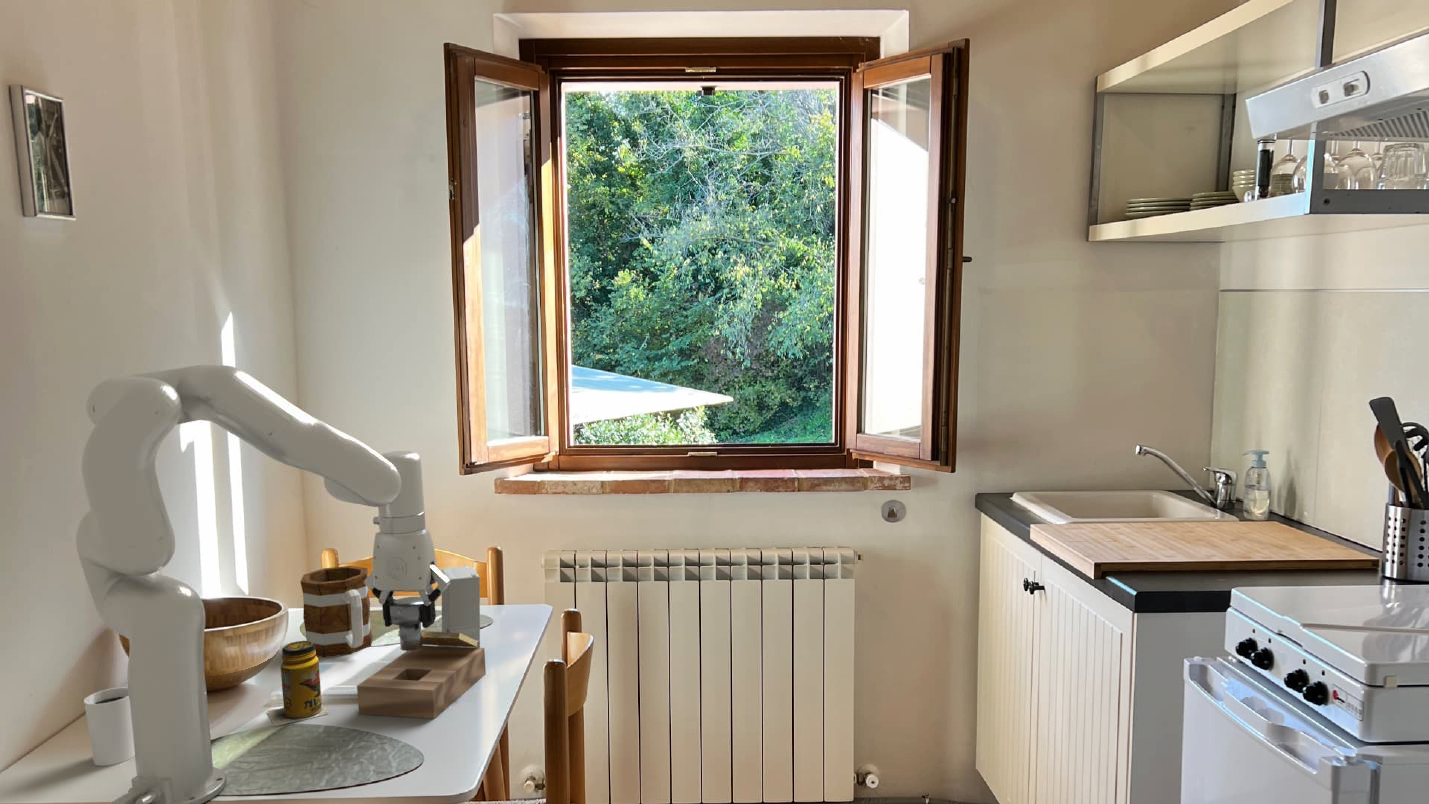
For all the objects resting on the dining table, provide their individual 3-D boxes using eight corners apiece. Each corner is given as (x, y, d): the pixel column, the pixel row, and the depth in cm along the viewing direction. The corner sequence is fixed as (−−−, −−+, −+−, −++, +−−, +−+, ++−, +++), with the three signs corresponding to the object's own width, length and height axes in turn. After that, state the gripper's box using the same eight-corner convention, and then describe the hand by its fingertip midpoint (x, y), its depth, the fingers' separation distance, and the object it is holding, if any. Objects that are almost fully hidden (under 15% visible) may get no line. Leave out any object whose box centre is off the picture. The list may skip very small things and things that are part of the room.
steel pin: (419, 654, 166) (416, 609, 166) (385, 653, 168) (381, 607, 167) (437, 641, 173) (434, 597, 172) (404, 639, 174) (401, 596, 173)
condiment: (328, 714, 167) (323, 646, 166) (274, 727, 162) (269, 657, 161) (319, 700, 173) (314, 635, 172) (267, 712, 169) (262, 645, 167)
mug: (296, 645, 203) (290, 574, 201) (361, 630, 211) (356, 562, 209) (326, 671, 187) (320, 595, 186) (395, 653, 196) (390, 580, 194)
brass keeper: (458, 638, 175) (459, 631, 175) (397, 636, 177) (398, 629, 178) (479, 647, 183) (480, 641, 183) (420, 645, 185) (421, 638, 186)
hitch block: (434, 718, 164) (432, 690, 163) (358, 714, 167) (356, 686, 166) (485, 673, 183) (484, 648, 183) (417, 670, 186) (415, 644, 186)
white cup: (119, 745, 158) (113, 685, 156) (149, 750, 155) (143, 690, 154) (79, 763, 151) (73, 701, 150) (110, 770, 149) (103, 706, 148)
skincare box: (441, 644, 200) (436, 568, 199) (476, 638, 203) (472, 563, 202) (448, 657, 193) (443, 578, 191) (484, 650, 196) (480, 573, 194)
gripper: (344, 528, 166) (352, 630, 168) (438, 529, 162) (445, 634, 164) (368, 518, 173) (376, 616, 175) (459, 519, 170) (465, 619, 172)
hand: (410, 623), depth 170 cm, fingers closed on steel pin, 6 cm apart
